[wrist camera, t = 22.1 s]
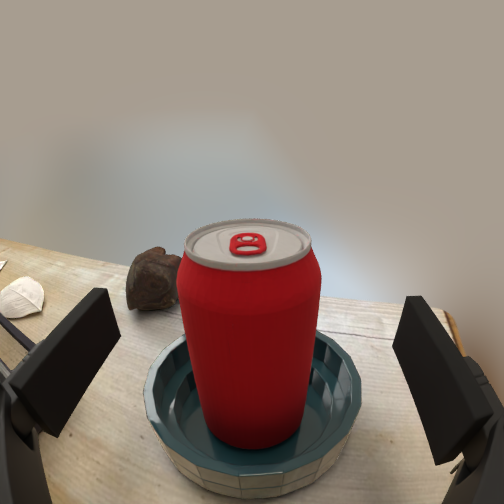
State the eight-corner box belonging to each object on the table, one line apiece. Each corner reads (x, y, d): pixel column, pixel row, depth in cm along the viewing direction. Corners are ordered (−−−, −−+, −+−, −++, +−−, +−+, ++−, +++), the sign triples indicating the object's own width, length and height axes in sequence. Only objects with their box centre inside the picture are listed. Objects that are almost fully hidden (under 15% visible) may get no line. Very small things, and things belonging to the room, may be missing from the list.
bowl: (347, 370, 21) (358, 325, 19) (336, 514, 10) (358, 489, 8) (201, 350, 24) (195, 306, 22) (131, 465, 13) (103, 428, 11)
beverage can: (295, 379, 20) (308, 214, 15) (308, 450, 14) (346, 266, 9) (208, 381, 19) (186, 217, 15) (200, 454, 14) (152, 271, 9)
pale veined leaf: (-21, 296, 26) (-14, 311, 27) (15, 319, 23) (25, 336, 24) (13, 266, 32) (19, 280, 33) (56, 279, 30) (63, 295, 31)
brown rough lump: (149, 237, 35) (121, 256, 25) (198, 258, 36) (186, 285, 26) (135, 279, 36) (106, 310, 26) (181, 299, 37) (166, 337, 27)
